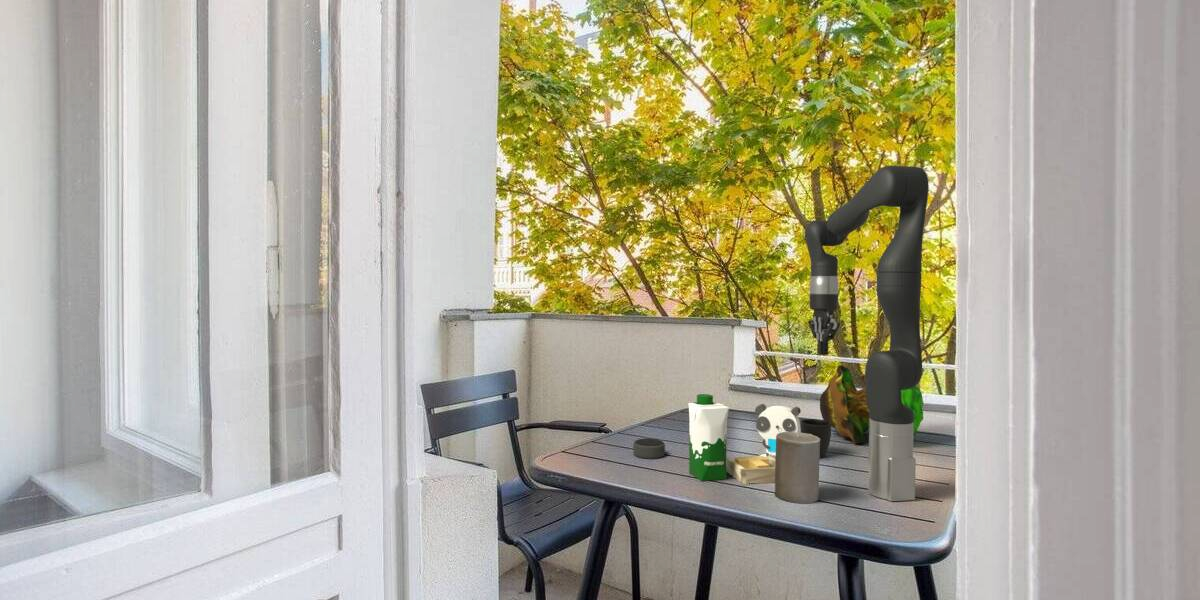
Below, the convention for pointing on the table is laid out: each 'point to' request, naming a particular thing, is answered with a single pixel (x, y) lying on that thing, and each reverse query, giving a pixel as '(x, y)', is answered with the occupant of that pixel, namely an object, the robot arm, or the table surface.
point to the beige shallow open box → (752, 472)
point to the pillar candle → (797, 467)
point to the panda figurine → (775, 424)
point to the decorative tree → (858, 406)
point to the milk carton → (707, 438)
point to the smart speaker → (649, 448)
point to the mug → (818, 432)
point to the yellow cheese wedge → (752, 462)
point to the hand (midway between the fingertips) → (822, 354)
